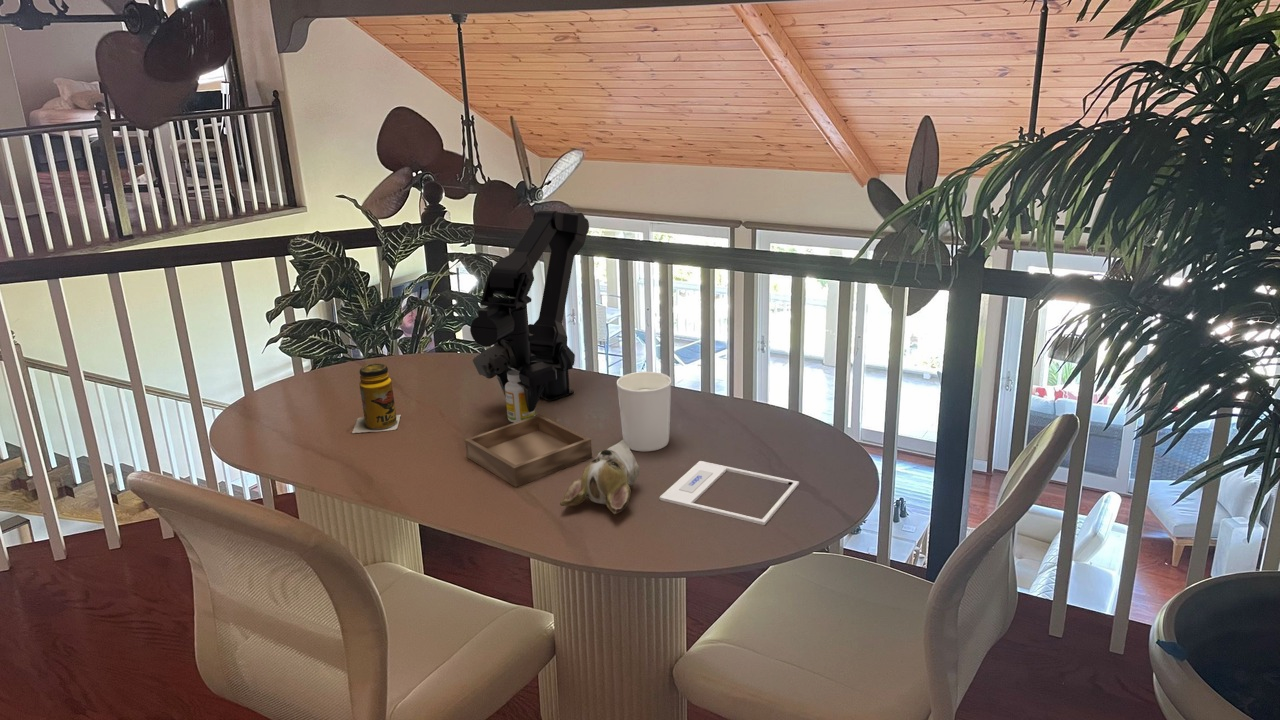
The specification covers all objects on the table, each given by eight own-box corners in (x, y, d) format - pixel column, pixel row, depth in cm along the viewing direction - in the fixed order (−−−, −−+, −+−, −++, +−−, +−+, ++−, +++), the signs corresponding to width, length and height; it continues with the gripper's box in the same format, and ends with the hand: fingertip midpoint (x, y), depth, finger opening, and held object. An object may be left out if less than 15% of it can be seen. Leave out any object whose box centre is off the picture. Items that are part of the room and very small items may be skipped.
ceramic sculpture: (652, 434, 145) (616, 480, 133) (656, 481, 149) (620, 530, 136) (593, 427, 149) (552, 471, 137) (597, 472, 153) (558, 519, 140)
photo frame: (699, 459, 155) (799, 480, 146) (699, 465, 155) (798, 486, 146) (659, 496, 143) (764, 521, 134) (659, 502, 143) (764, 527, 134)
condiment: (396, 430, 173) (388, 372, 169) (351, 434, 172) (342, 375, 168) (401, 415, 180) (393, 359, 176) (357, 419, 179) (349, 363, 175)
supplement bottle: (537, 412, 179) (534, 367, 175) (532, 423, 174) (528, 377, 170) (511, 412, 179) (507, 367, 176) (504, 423, 174) (500, 377, 171)
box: (540, 431, 170) (539, 414, 169) (592, 457, 158) (591, 439, 157) (466, 457, 160) (464, 439, 159) (516, 487, 149) (514, 468, 148)
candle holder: (609, 448, 162) (606, 386, 158) (635, 427, 170) (632, 368, 166) (658, 457, 157) (656, 394, 153) (682, 436, 166) (680, 375, 162)
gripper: (451, 329, 172) (460, 404, 177) (504, 351, 159) (511, 432, 164) (501, 317, 179) (507, 390, 184) (555, 337, 165) (561, 415, 171)
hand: (520, 406), depth 176 cm, fingers open, 7 cm apart
